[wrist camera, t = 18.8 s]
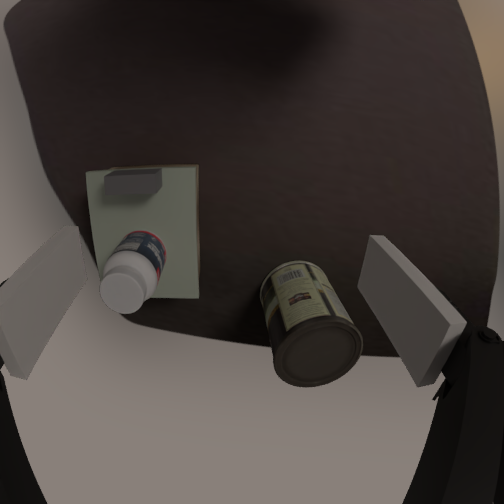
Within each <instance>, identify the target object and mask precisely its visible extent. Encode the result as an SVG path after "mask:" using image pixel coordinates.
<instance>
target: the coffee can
mask: <svg viewBox="0 0 504 504" xmlns="http://www.w3.org/2000/svg"><path fill="white" fill-rule="evenodd" d="M260 300H261V303H262V306H263V311H264V315H265V320H266V324H267V329H268V334H269V339H270V344H271V348H272V353H273V363H274V369H275V371H276V373H277V375H278V376H279V377H280V378H281V379H282V380H283V381H285V382H286V383H288V384H290V385H293V386H297V387H316V386H320V385H325V384H328V383H330V382H333V381H334V380H336V379H338V378H340V377H341V376H343V375H344V374H346V373H347V372H348V371H349V370H350V369H351V368H352V367H353V366H354V365H355V364H356V362H357V361H358V359H359V357H360V355H361V353H362V349H363V339H362V336H361V334H360V332H359V330H358V329H357V327H356V326H355V325H354V324H353V322H352V321H351V319H350V317H349V315H348V314H347V312H346V310H345V309H344V307H343V305H342V303H341V302H340V300H339V298H338V297H337V295H336V293H335V292H334V290H333V288H332V287H331V285H330V283H329V282H328V280H327V277H326V275H325V274H324V272H323V271H322V270H321V269H320V268H319V267H318V266H316V265H314V264H312V263H310V262H306V261H292V262H287V263H284V264H282V265H280V266H278V267H276V268H275V269H274V270H272V271H271V272H270V273H269V274H268V276H267V277H266V278H265V280H264V281H263V283H262V286H261V290H260Z"/></svg>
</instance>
